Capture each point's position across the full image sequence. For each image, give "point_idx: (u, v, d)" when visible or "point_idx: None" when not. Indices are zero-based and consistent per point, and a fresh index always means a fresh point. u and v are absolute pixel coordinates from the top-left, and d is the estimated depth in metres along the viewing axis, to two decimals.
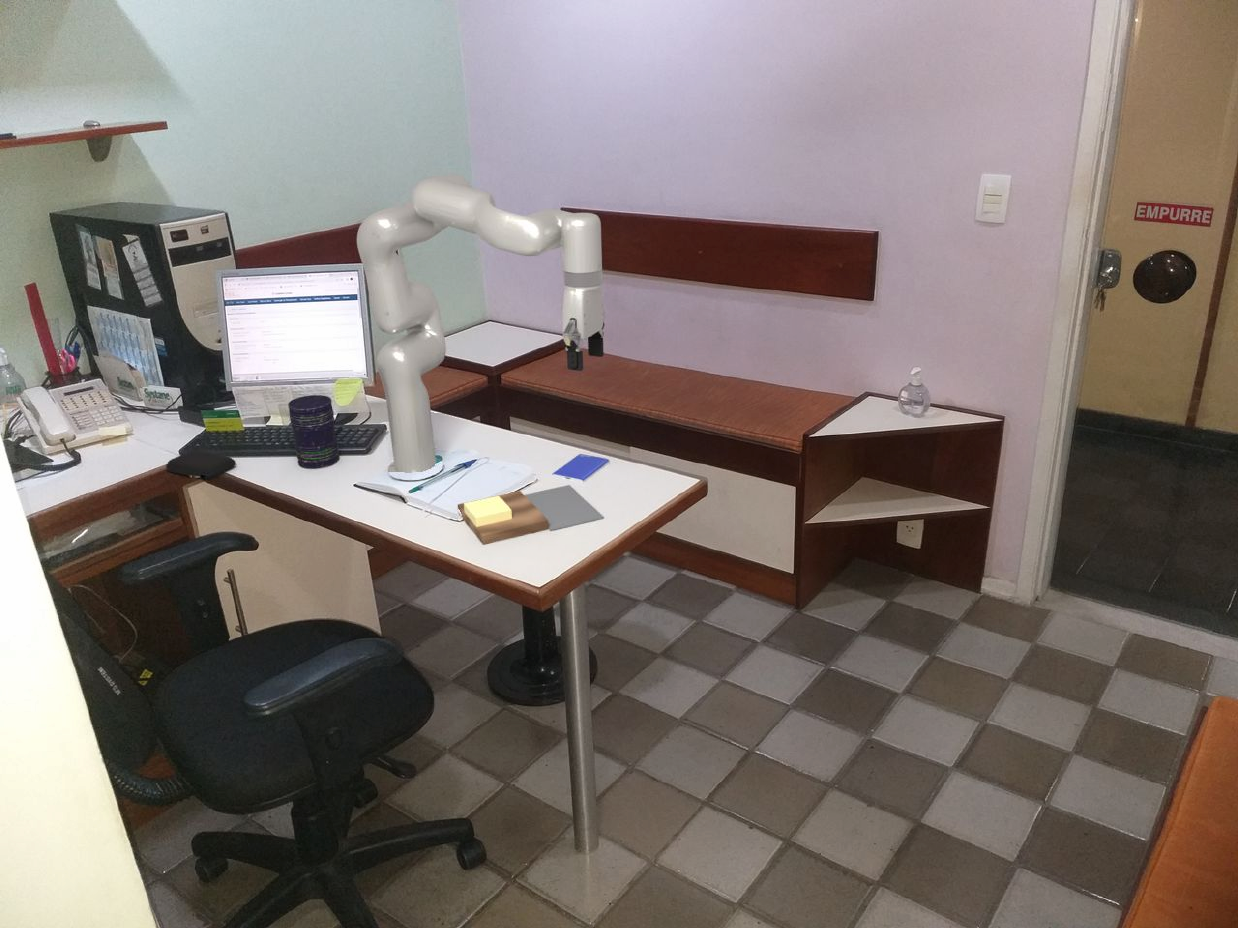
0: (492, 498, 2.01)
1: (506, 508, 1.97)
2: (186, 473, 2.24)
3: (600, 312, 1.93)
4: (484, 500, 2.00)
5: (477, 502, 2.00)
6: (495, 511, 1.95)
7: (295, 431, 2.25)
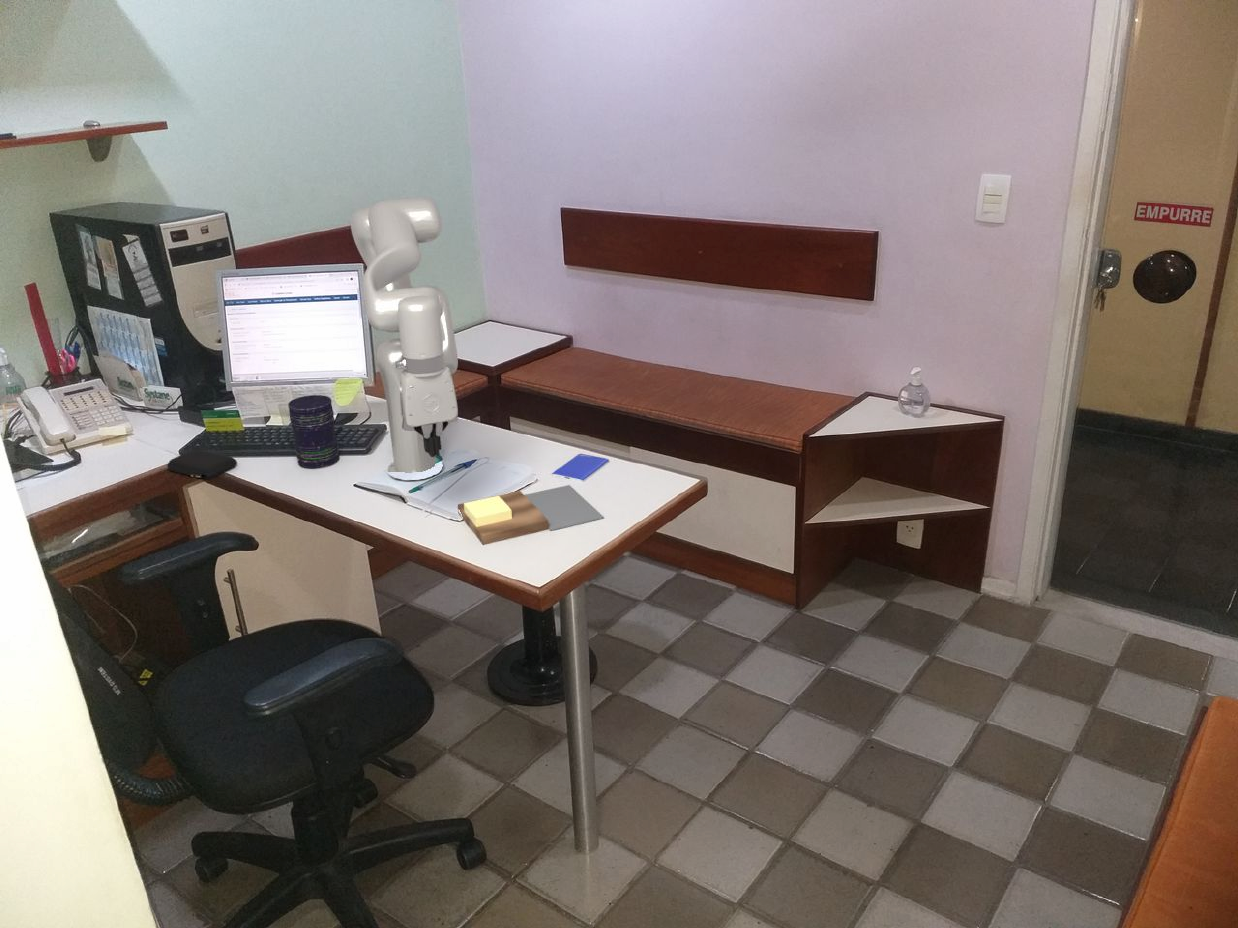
0: (492, 498, 2.01)
1: (506, 508, 1.97)
2: (187, 472, 2.24)
3: None
4: (484, 500, 2.00)
5: (477, 502, 2.00)
6: (495, 511, 1.95)
7: (295, 431, 2.25)
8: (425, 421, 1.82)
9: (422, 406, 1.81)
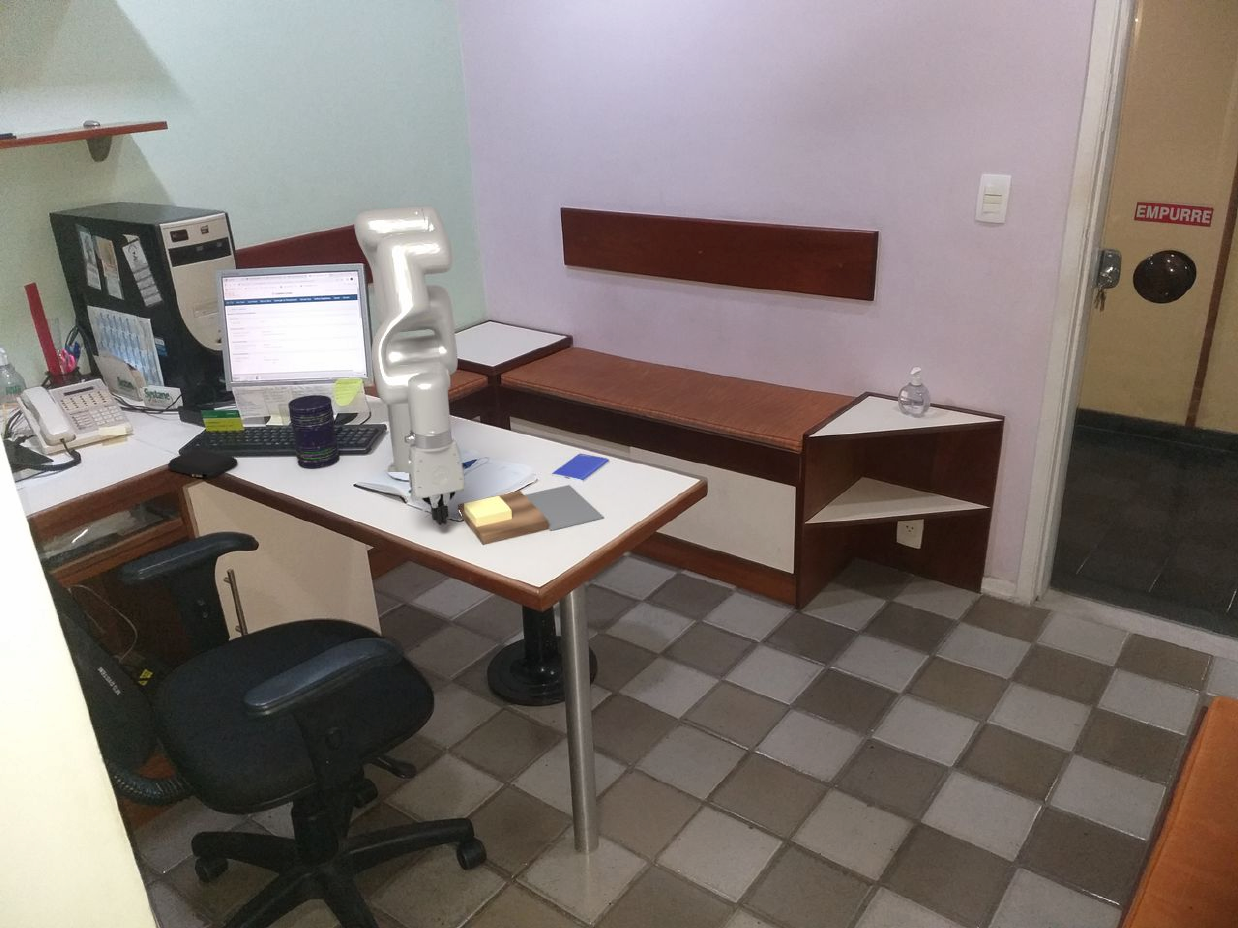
0: (492, 498, 2.01)
1: (506, 508, 1.97)
2: (188, 472, 2.24)
3: None
4: (484, 500, 2.00)
5: (477, 502, 2.00)
6: (495, 511, 1.95)
7: (295, 431, 2.25)
8: (433, 493, 1.88)
9: (430, 478, 1.87)
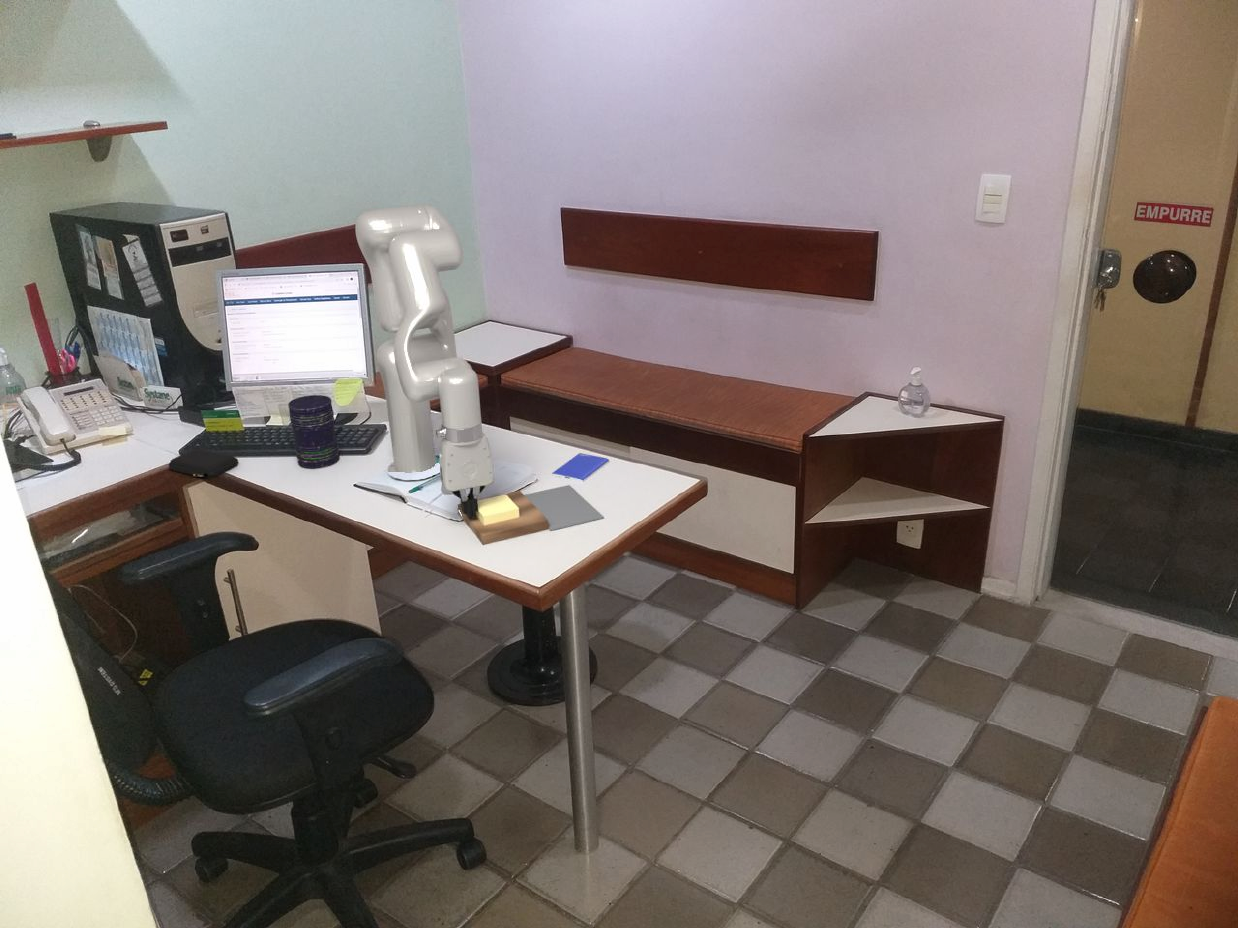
0: (499, 497, 2.02)
1: (514, 507, 1.97)
2: (189, 472, 2.24)
3: None
4: (491, 499, 2.01)
5: (484, 501, 2.00)
6: (503, 510, 1.96)
7: (295, 431, 2.25)
8: (463, 486, 1.90)
9: (461, 472, 1.89)
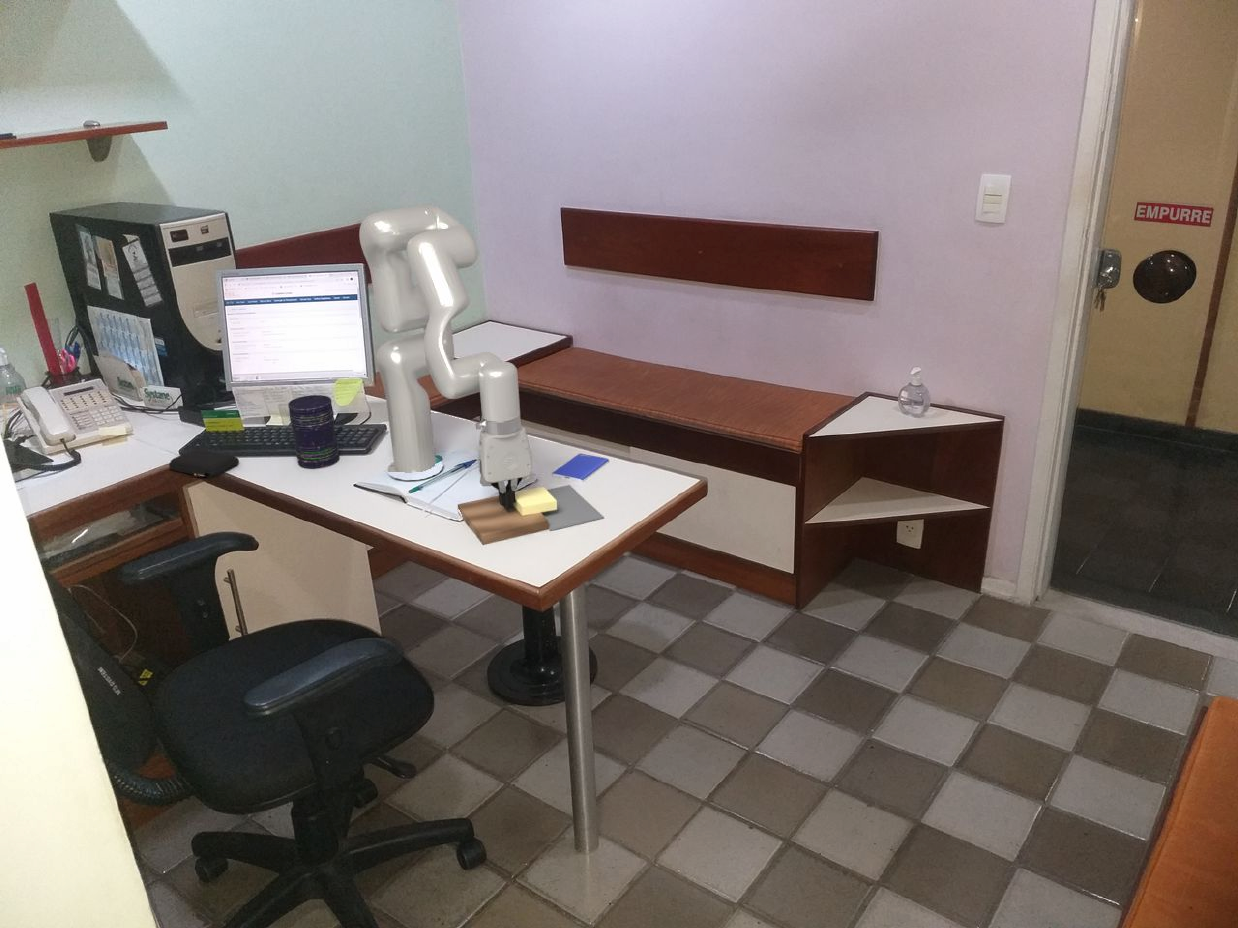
0: (537, 489, 2.05)
1: (552, 499, 2.01)
2: (190, 471, 2.24)
3: None
4: (529, 490, 2.04)
5: (523, 492, 2.03)
6: (541, 501, 1.99)
7: (295, 431, 2.25)
8: (502, 478, 1.94)
9: (500, 464, 1.92)
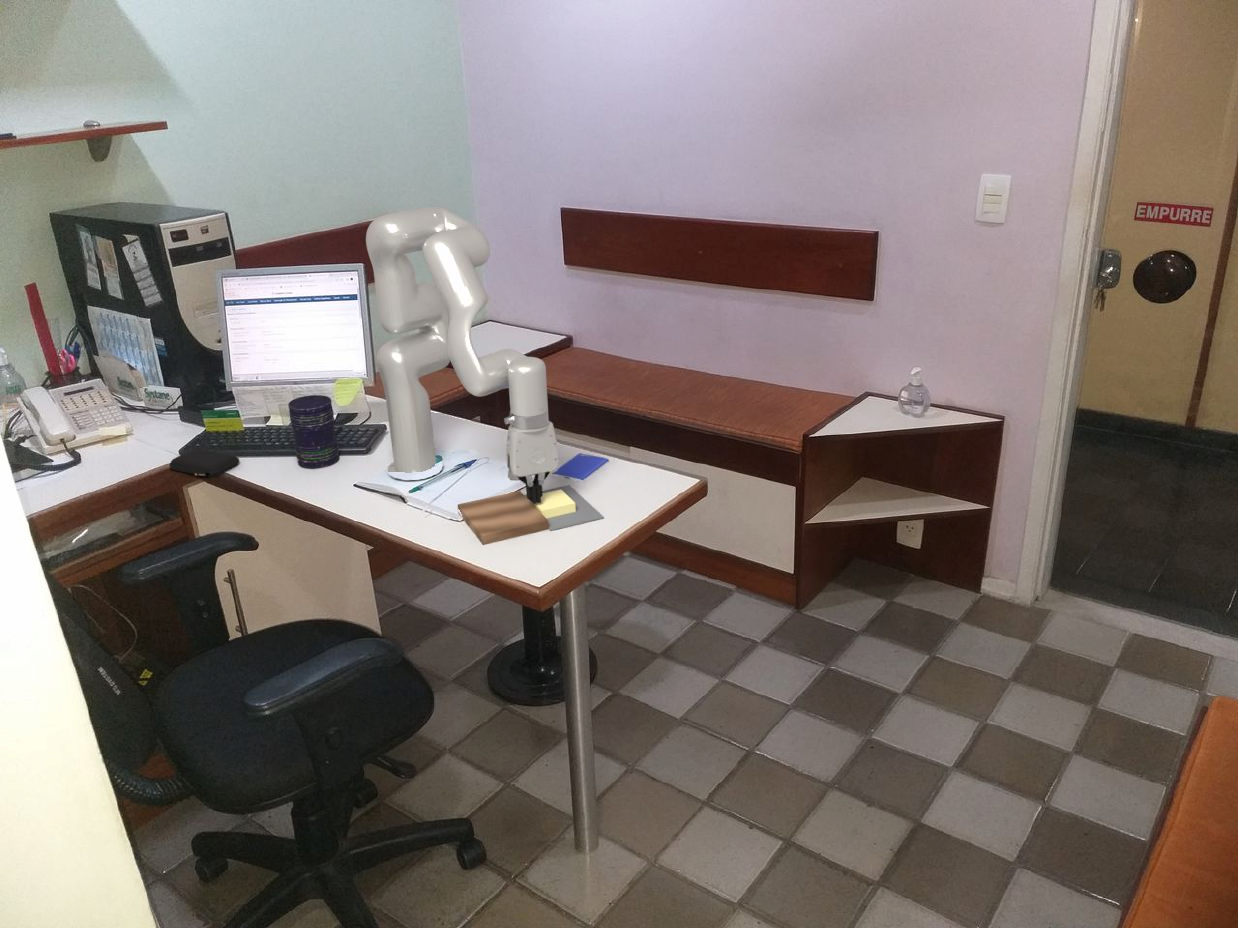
0: (555, 492, 2.07)
1: (570, 501, 2.03)
2: (190, 471, 2.24)
3: None
4: (547, 493, 2.07)
5: None
6: (560, 504, 2.02)
7: (295, 431, 2.25)
8: (530, 472, 1.96)
9: (528, 458, 1.95)
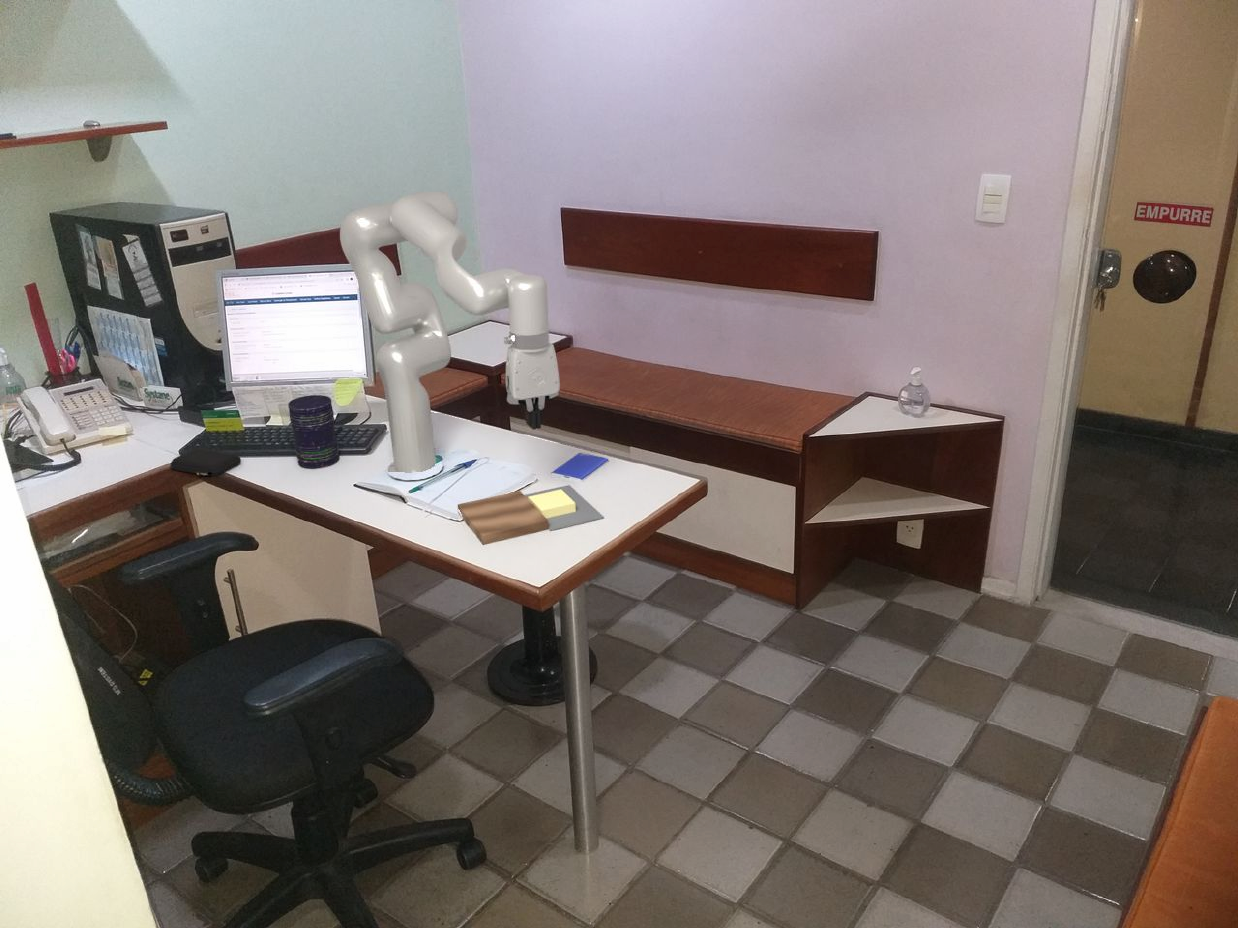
0: (555, 492, 2.07)
1: (570, 501, 2.03)
2: (192, 471, 2.25)
3: None
4: (547, 493, 2.07)
5: (541, 495, 2.06)
6: (560, 504, 2.02)
7: (295, 431, 2.25)
8: (530, 395, 1.90)
9: (528, 380, 1.89)
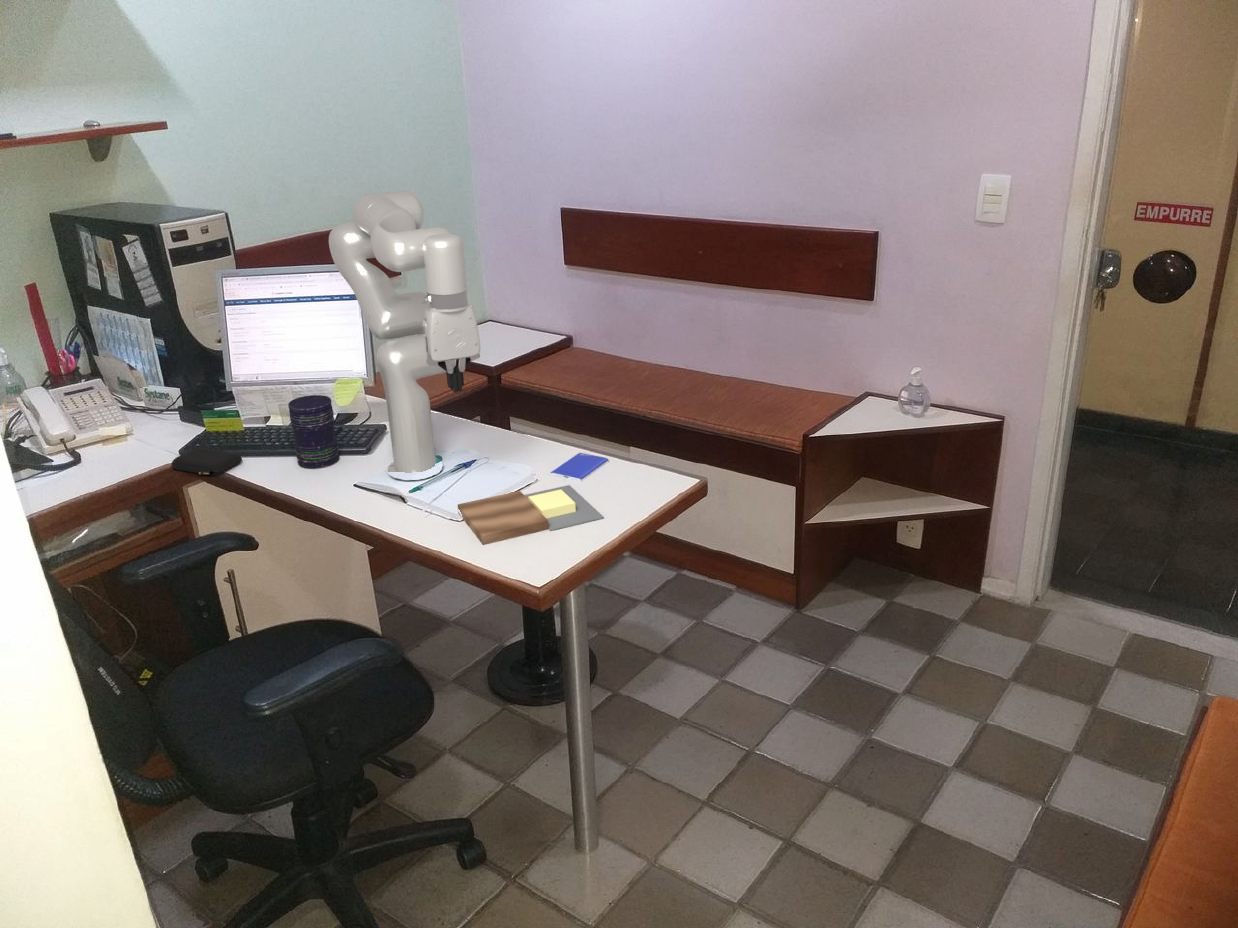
0: (555, 492, 2.07)
1: (570, 501, 2.03)
2: (194, 470, 2.25)
3: None
4: (547, 493, 2.07)
5: (541, 495, 2.06)
6: (560, 504, 2.02)
7: (295, 431, 2.25)
8: (449, 357, 1.88)
9: (446, 341, 1.87)
